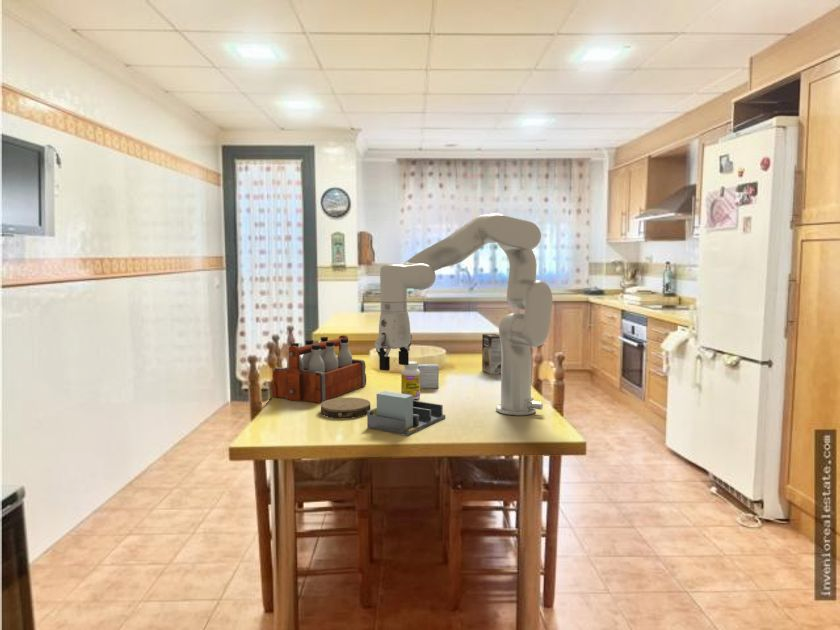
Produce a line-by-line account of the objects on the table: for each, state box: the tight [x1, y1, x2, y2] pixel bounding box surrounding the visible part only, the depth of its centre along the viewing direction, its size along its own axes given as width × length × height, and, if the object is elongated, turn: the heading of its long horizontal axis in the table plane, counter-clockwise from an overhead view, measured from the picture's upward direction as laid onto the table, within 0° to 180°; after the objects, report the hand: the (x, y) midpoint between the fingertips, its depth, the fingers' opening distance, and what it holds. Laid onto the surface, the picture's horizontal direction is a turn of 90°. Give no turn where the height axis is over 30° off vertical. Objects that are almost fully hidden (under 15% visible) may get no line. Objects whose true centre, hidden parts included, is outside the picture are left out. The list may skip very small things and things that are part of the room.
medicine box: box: [417, 363, 440, 389], centre depth 222 cm, size 8×4×9 cm, turn 92°
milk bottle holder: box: [271, 334, 367, 404], centre depth 215 cm, size 21×35×19 cm, turn 154°
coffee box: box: [481, 333, 502, 375], centre depth 251 cm, size 9×6×16 cm
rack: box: [366, 400, 446, 437], centre depth 174 cm, size 14×21×5 cm, turn 147°
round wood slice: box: [320, 397, 371, 419], centre depth 187 cm, size 16×16×3 cm
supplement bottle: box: [400, 360, 421, 400], centre depth 204 cm, size 7×7×13 cm
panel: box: [376, 390, 413, 429], centre depth 169 cm, size 10×4×9 cm, turn 58°
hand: (394, 367), depth 167 cm, fingers open, 9 cm apart
